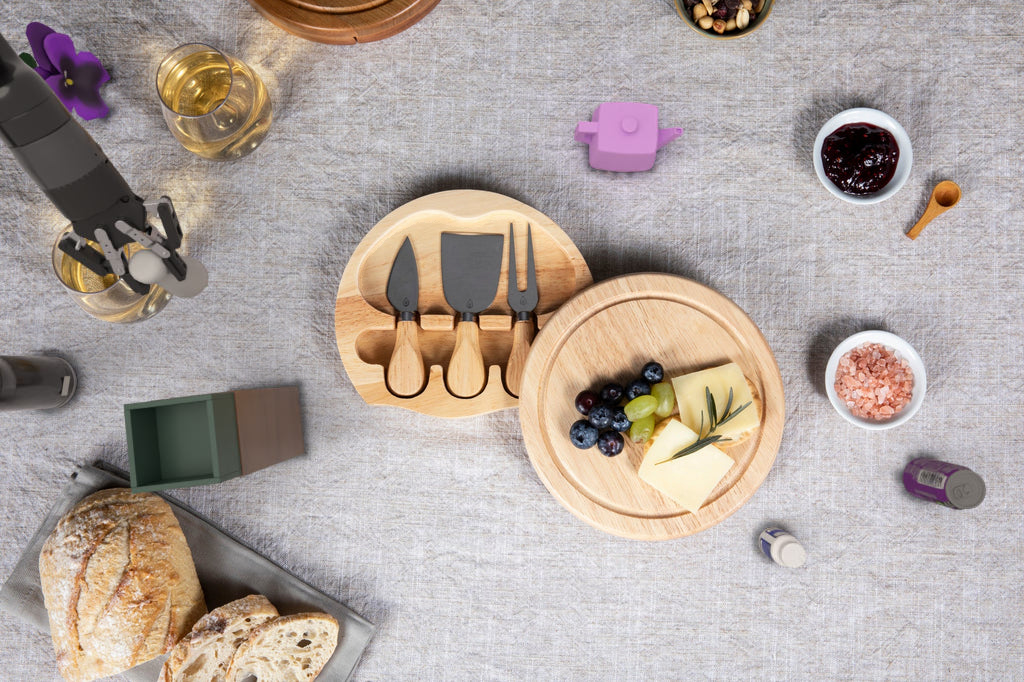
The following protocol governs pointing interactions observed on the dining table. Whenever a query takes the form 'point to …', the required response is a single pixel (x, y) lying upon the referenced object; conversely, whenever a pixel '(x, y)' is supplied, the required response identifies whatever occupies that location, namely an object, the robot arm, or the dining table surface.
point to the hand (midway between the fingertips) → (165, 283)
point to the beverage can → (944, 483)
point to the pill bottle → (782, 547)
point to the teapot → (624, 136)
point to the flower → (67, 70)
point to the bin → (182, 442)
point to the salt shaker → (168, 273)
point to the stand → (267, 426)
